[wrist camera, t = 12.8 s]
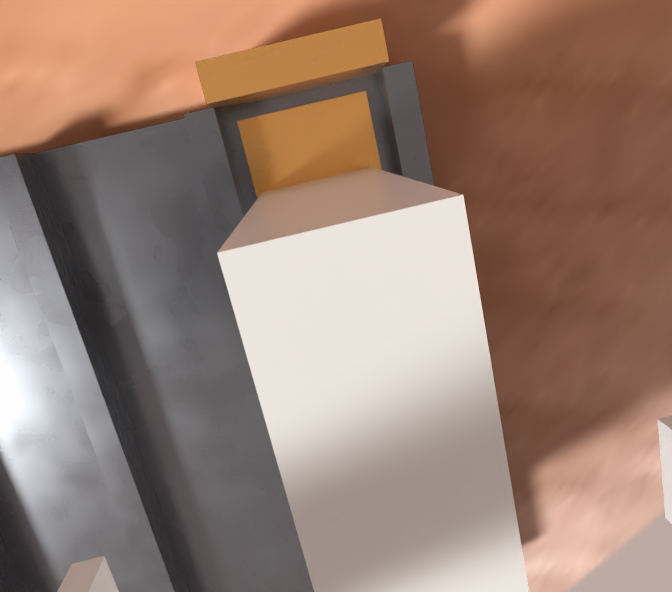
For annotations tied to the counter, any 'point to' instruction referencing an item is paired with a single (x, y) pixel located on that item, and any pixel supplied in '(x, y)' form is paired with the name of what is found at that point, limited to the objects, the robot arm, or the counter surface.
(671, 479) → the robot arm
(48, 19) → the counter surface
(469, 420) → the long white block
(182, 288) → the floor rack
